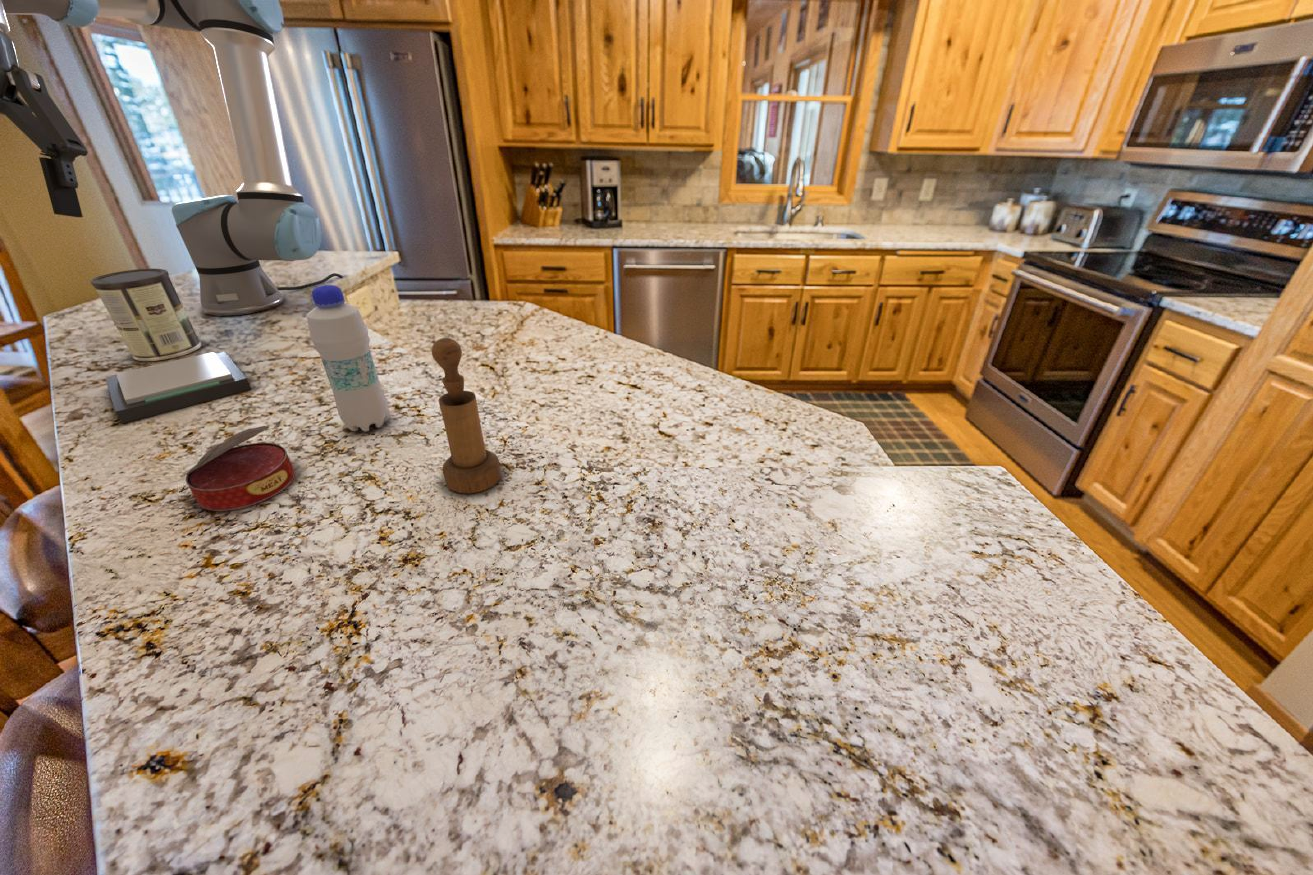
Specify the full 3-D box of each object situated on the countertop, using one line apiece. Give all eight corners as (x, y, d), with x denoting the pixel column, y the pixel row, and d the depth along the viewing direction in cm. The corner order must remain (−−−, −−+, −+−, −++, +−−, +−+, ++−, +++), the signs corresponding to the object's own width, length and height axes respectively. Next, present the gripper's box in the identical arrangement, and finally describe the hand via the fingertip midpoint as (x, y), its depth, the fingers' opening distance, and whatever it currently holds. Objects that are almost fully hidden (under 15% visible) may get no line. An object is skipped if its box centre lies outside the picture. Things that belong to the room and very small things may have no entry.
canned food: (234, 543, 62) (144, 501, 54) (234, 491, 68) (154, 447, 61) (317, 482, 63) (240, 433, 56) (309, 437, 70) (240, 388, 63)
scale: (229, 361, 96) (222, 347, 94) (251, 389, 86) (245, 373, 85) (111, 389, 86) (102, 373, 84) (122, 424, 76) (111, 406, 75)
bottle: (403, 418, 78) (366, 282, 68) (365, 440, 73) (317, 296, 62) (371, 409, 80) (330, 276, 70) (331, 429, 75) (280, 288, 65)
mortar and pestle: (511, 469, 67) (489, 333, 58) (481, 499, 62) (450, 355, 52) (467, 459, 69) (438, 326, 59) (434, 487, 64) (396, 346, 54)
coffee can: (167, 340, 104) (130, 267, 97) (215, 342, 104) (182, 269, 96) (116, 360, 96) (72, 282, 88) (168, 363, 95) (128, 284, 88)
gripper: (-190, 8, 59) (-119, 211, 65) (28, 6, 59) (80, 210, 64) (-97, 40, 67) (-40, 220, 72) (97, 38, 66) (140, 219, 72)
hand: (17, 216), depth 68 cm, fingers open, 13 cm apart
